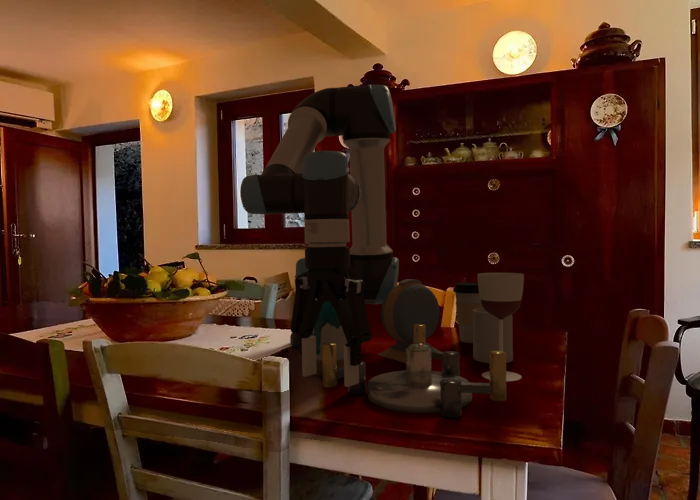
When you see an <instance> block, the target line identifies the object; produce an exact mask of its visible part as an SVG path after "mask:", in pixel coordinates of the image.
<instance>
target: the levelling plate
mask: <svg viewBox="0 0 700 500" xmlns="http://www.w3.org/2000/svg"><path fill="white" fill-rule="evenodd" d="M432 367H433V366H432V358H431V349H430V348H429V346H428V345H424V344H412V345H409V346H408V348H407V349H406V363H405V370H397V371H391V372H385V373H382V374H378V375H375V376H374V377H372V378H370V379H369V380H368V382H367V383H366V390H367V399H368V400H369V401H370V402H371V403H372V404H374V405H376V406H378V407H380V408H383V409H387V410H389V411H390V410H391V411H396V412H401V413H409V414H412V413H413V414H436V413H437V414H439V413H441V395H440V381H441V380H443V379H456V380H460V381H461V382H470V381H469V380H468V379H466V378H465V377H462V376H457V375H453V374H449V373H444V372H443V371H436V370H432ZM472 401H473V393H462V408H464V407H466V406H468V405H469V404H470V403H471V402H472Z"/></svg>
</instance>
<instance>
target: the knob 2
mask: <svg viewBox="0 0 700 500" xmlns="http://www.w3.org/2000/svg"><path fill="white" fill-rule="evenodd" d="M489 355H490V363H489V371H490V379H489V382H471V381H469V382H461V381H460V380H456V379H443V380H441V381H440V395H441V412H440V415H441V416H443V417H444V418H449V419H450V418H452V419H453V418H460V417H462V416H463V407H462V393H472V394H487V395H488V394H489V399H490V400H491V401H496V402H505V401H506V400H507V381H506V371H507V363H506V352H503V351H490V352H489Z"/></svg>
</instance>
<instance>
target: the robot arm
mask: <svg viewBox="0 0 700 500" xmlns="http://www.w3.org/2000/svg"><path fill="white" fill-rule="evenodd" d="M396 130H397V127H396V117H395V109H394V104H393V99H392V95H391V91H390V89H389V88H388V87H387V85H384V84H369V83H368V84H363V85H361V84H360V85H351V86H340V87H327V88H323V89H319V90H318V91H315V92H313V93H312V94H310V95H308V96H306V98H304V99H302V100H301V101H300V102H299V103H297V105H296V106H295V107H294V108H293V109H292V111H291V113H290V114H289V116H288V119H287V129H286V131H285V132H284V134H283V136H282V138H281V140H280V141H279V142H278V145H277V147H276V148H275V151H274V152H273V154H272V155H271V157H270V159H269V161H268V162H267V164H266V166H265V167H264V169H263V171H262V173H261V174H257V173H255V174H252V175H247V176H245V177H243V179H242V180H241V182H240V183H241V184H240V191H239V192H240V195H239V197H240V200H241V205H242V208H243V209H244V210H245V212H246V213H248V214H250V215H264V216H268V215H286V214H287V215H288V214H304V215H303V219H304V221H303V222H304V223H303V225H304V243H305V244H306V245H308V246H307V247H305V248H304V257H302V258H299V259H298V260H297V261H296V264H295V275H294V284H295V285H294V286H295V288H294V289H295V294H294V302H293V307H292V308H293V309H292V316H291V323H290V332H291V334H290V336H289V338H290V339H289V341H290V342H289V345H290V344H291V345H292V346H293V348H296V349H299V353H300V356H301V365H302V366H301V368H302V374H301V375H302V377H304V378H305V377H309V376H312V375H317V374H316V373H317V367H316V336H311V337H310V335H314V334H315V333H314V332H313V330H314V327H315V324H316V322H317V319H318V316H319V313H320V310H321V308H322V305H323V304H324V303H325V302H326V301H327V302H330V303H331V306H332V307H333V308H335V311H336V313H337V316H338V319H339V321H340V324H341V327H342V329H343V332H344V335H345V337H346V340H347V344H345V346H344V377H343V378H344V380H343V381H344V383H343V385H344V387H346V388H348V387H349V386H352V385H355V384H358V383H359V365H360V364H361V361H362V346H363V344H364V343H366V342H370V341H372V332H371V326H370V322H369V316H368V311H367V305H369V304H370V305H380V304H381V305H382V304H383V300H384V299H385V297H386V295H387V294H388V293H389V292H390V290H391V289H392V288H394V287H395V286H397V285H398V280H399V272H400V271H399V270H400V259H399V258H398V257H396V256H394V251H393V249H392V248H391V246H389V245H388V243H387V242H388V241H387V215H386V214H387V213H386V211H387V210H386V209H387V208H386V206H387V205H386V181H385V180H386V179H385V178H386V177H385V176H386V175H385V172H386V171H385V169H386V168H385V147H386V146H387V145H388V144H389V143H390V141H391V138H390V137H391V135H390V134H392V135H393V134H394V133H396V132H397V131H396ZM339 136H340V137H342V142H343V144H344V145H345V146H346V147H347V148H348V150H349V160H348V156H347V154H346V153H344V152H342V151H338V150H318V151H316V150H315V149H316V147H317V145H318V144H319V143H320V142H322V141H323V140H324V138H326V137H339ZM349 167H350V168H349ZM349 212H351V228H352V229H351V230H352V231H351V232H352V233H351V234H352V237H350V236H351V235H350V213H349ZM351 238H352V245H351V247H350V248H349V246H347V244H349V243H350V242H351V241H350V240H351ZM340 299H342V300H340ZM353 336H354V337H353ZM291 345H290V346H291ZM292 346H291V347H292Z"/></svg>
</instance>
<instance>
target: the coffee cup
mask: <svg viewBox="0 0 700 500" xmlns="http://www.w3.org/2000/svg"><path fill="white" fill-rule="evenodd" d="M452 292H454V295H455V296H454V297H455V308H456V317H457V318H456V319H457V324H458V329H459V338H460V342H461V343H465V344H473V310H474V309H476V308H483V306H482V304H481V299H480V295H479V288H478V281H475V282H474V281H473V282H472V281H465V282H463V281H462V282H456V283H455V286H454V287H453V288H452Z"/></svg>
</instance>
